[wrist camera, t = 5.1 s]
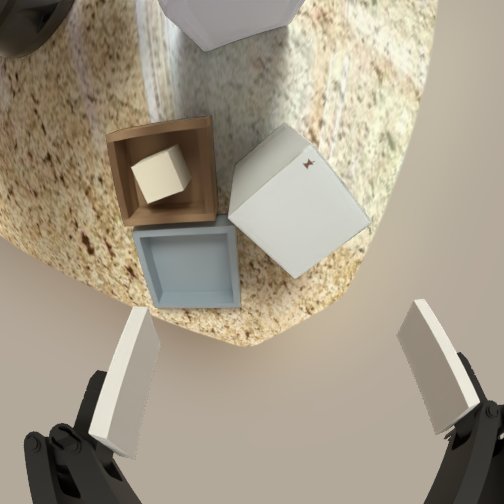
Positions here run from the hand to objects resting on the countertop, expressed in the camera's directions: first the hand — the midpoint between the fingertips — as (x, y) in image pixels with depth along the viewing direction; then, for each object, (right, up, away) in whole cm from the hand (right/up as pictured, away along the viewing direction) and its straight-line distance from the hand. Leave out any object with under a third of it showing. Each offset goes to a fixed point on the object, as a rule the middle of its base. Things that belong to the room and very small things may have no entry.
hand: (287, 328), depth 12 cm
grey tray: (-9, +3, +22) cm, 24 cm away
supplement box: (+1, +13, +16) cm, 20 cm away
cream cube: (-11, +13, +15) cm, 22 cm away
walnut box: (-11, +13, +15) cm, 22 cm away
